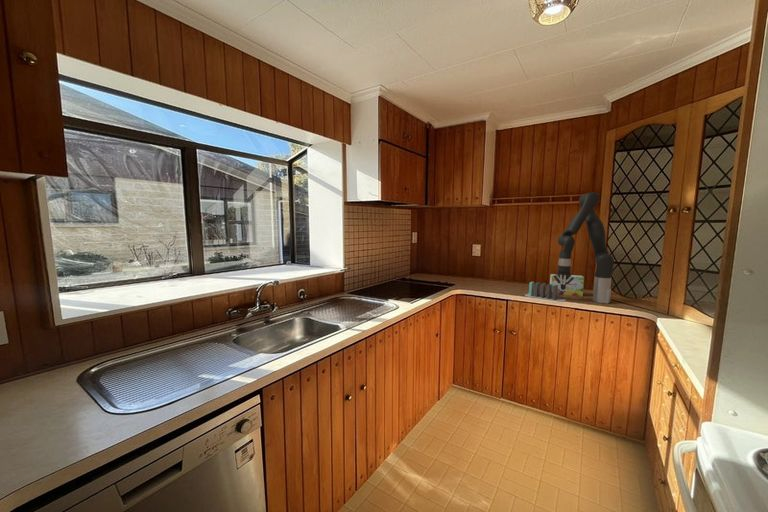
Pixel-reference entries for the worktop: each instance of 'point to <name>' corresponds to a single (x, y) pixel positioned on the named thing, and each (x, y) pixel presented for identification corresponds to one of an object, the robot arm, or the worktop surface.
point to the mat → (547, 299)
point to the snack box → (569, 285)
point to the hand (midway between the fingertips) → (562, 289)
